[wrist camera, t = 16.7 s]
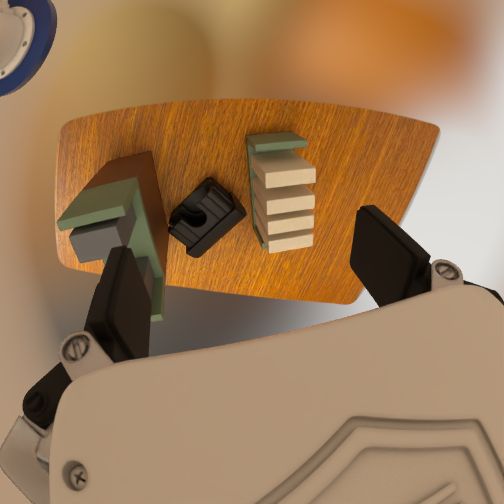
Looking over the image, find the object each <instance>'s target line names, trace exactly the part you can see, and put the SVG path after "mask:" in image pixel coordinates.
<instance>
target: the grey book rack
mask: <svg viewBox="0 0 504 504" xmlns="http://www.w3.org/2000/svg"><path fill="white" fill-rule="evenodd" d="M57 225H58V228H59V230H60V231H63V230H67V229H71V228H74V229H73V231H72V232H71V234H70V236H69V239H70V241H71V244H72V246H73V248H74V251H75V253H76V255H77V257H78V260H79V262H80V263H84V262H89V261H95V260H100V259H102V260H103V262H104V264H106V261H107V259H108V256H109V253H110V250H111V248H113V247H117V246H122V245H126V247H127V248H131V249H132V251H133V254H134V257H135V260H136V262H137V265H138V268H139V270H140V273H141V276H142V278H143V281H144V284H145V286H146V289H147V291H148V294H149V296H150V299H151V304H152V308H151V321H150V322H154V321H161V320H163V319H164V318H163V317H164V295H165V277H166V263H167V251H168V240H169V233H168V225H167V221H166V217H165V213H164V209H163V204H162V200H161V196H160V191H159V187H158V182H157V177H156V172H155V168H154V163H153V158H152V152H151V151H148V152H144V153H140V154H135V155H131V156H127V157H123V158H119V159H115V160H111V161H108V162H107V163H106V164H105V165H104V166H103V167H102V168H101V169H100V170H99V172H98V173H97V174H96V175H95V176H94V177H93V178H92V179H91V180H90V182H89V183H88V184H87V185H86V186H85V187H84V189H83V190H82V191H81V192H80V193H79V194H78V195H77V197H76V198H75V199H74V200H73V202H72V203H71V204H70V205H69V207H68V208H67V209H66V210H65V212H64V213H63V214H62V216H61V217H60V218H59V219H58V221H57Z"/></svg>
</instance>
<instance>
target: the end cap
mask: <svg viewBox="0 0 504 504" xmlns="http://www.w3.org/2000/svg"><path fill="white" fill-rule="evenodd" d="M246 215H247V213H246V210H245V209H244V207H243V206H242V204H241V203H240V202H239V200H238V199H237V198H236V197H235V196H234V195H233V194H232V193H231V192H229V193H228V192H227V191H226V190H225V189H224V188H223V187H222V186H221V185H219V184H218V183H217V182H216V181H215V180H214V179H213V178H212V177H208V178H206V179H205V180H204V181H203V182H202V183H201V184H200V185H199V186H198V187H197V188H196V189H195V190H194V191H193V192H192V193H191V194H190V195H189V196H188V197H187V198H186V199H185V200H184V201H183V202H182V203H181V204H180V205H179V206H178V207H177V208H176V209H175V210H174V211H173V212H172V214H171V217H170V219H169V224H170V225H171V226H172V227H171V226H169V227H168V233H170V234H171V235H172V236H174V237H175V238H176V239H178V240H179V241H180V242H181V243H183V244H184V245H185V246H186V253H187V254H188V255H190V256H192V257H194V258H199V257H201V256H202V255H203V254H204V253H205V252H206V251H207V250H208V249H210V248H211V247H212V246H213V245H214V244H215V243H216V242H217V241H218V240H220V239H221V238H222V237H223V236H224V235H225V234H226V233H227V232H228V231H230V230H231V229H232V228H233V227H234V226H235V225H236V224H237V223H239V222H240V221H241V220H242V219H243V218H244V217H245V216H246Z"/></svg>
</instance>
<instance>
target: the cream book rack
mask: <svg viewBox="0 0 504 504" xmlns="http://www.w3.org/2000/svg"><path fill="white" fill-rule="evenodd" d="M246 142H247V155H248V167H249V179H250V191H251V204H252V216H253V228H254V231H255V233H256V236H257V238H258V240H259V243H260V245H261V248H262V249H265V248H267V250H268V252H269V253H275V252H281V251H286V250H292V249H298V248H303V247H309V246H313V233H312V232H311V230H310V229H309V228H313V227H314V214H313V213H312V212H311V211H310V210H309V209H312V208H314V205H315V194H314V193H313V192H312V191H311V190H310V189H309V188H308V187H307V186H306V185H305V184H299V185H290V186H282V187H274V188H267V189H266V188H265V186H264V185H263V183H262V182H261V180H260V179H259V177H258V176H257V174H256V173H255V171H254V170H253V168H252V167H251V155H253V154H261V153H271V152H281V151H294V148H301V147H307V140H306V139H304V138H302V137H300V136H298V135H297V134H295V133H293V132H291V131H290V132H276V133H265V134H254V135H246Z"/></svg>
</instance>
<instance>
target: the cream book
mask: <svg viewBox="0 0 504 504" xmlns="http://www.w3.org/2000/svg"><path fill="white" fill-rule="evenodd" d="M251 167H252V168H253V170H254V171H255V173H256V174H257V176H258V177H259V179H260V180H261V182H262V183H263V185H264V186H265V188H266V189H267V188H274V187H282V186H290V185H299V184H308V183H316V168H315V167H314V166H312V165H311V164H310V163H309V162H307V161H306V160H305V159H303V158H302V157H301V156H299V155H298V154H297V153H295V152H294V151H281V152H271V153H261V154H253V155H251Z"/></svg>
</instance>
